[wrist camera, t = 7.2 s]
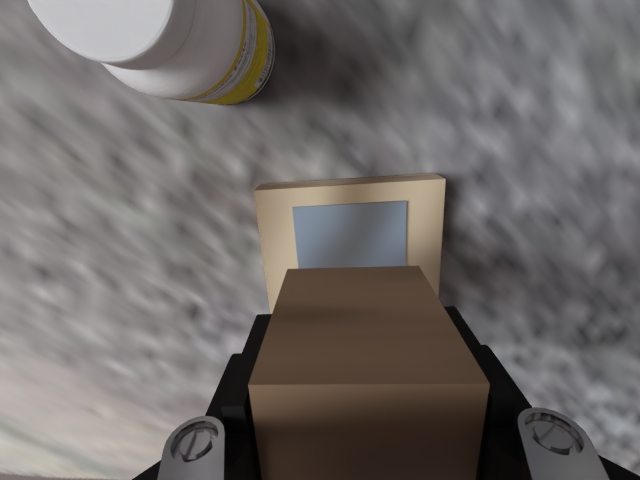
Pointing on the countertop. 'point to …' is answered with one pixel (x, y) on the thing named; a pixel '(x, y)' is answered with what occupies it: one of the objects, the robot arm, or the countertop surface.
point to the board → (351, 225)
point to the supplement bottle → (170, 44)
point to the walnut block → (365, 381)
